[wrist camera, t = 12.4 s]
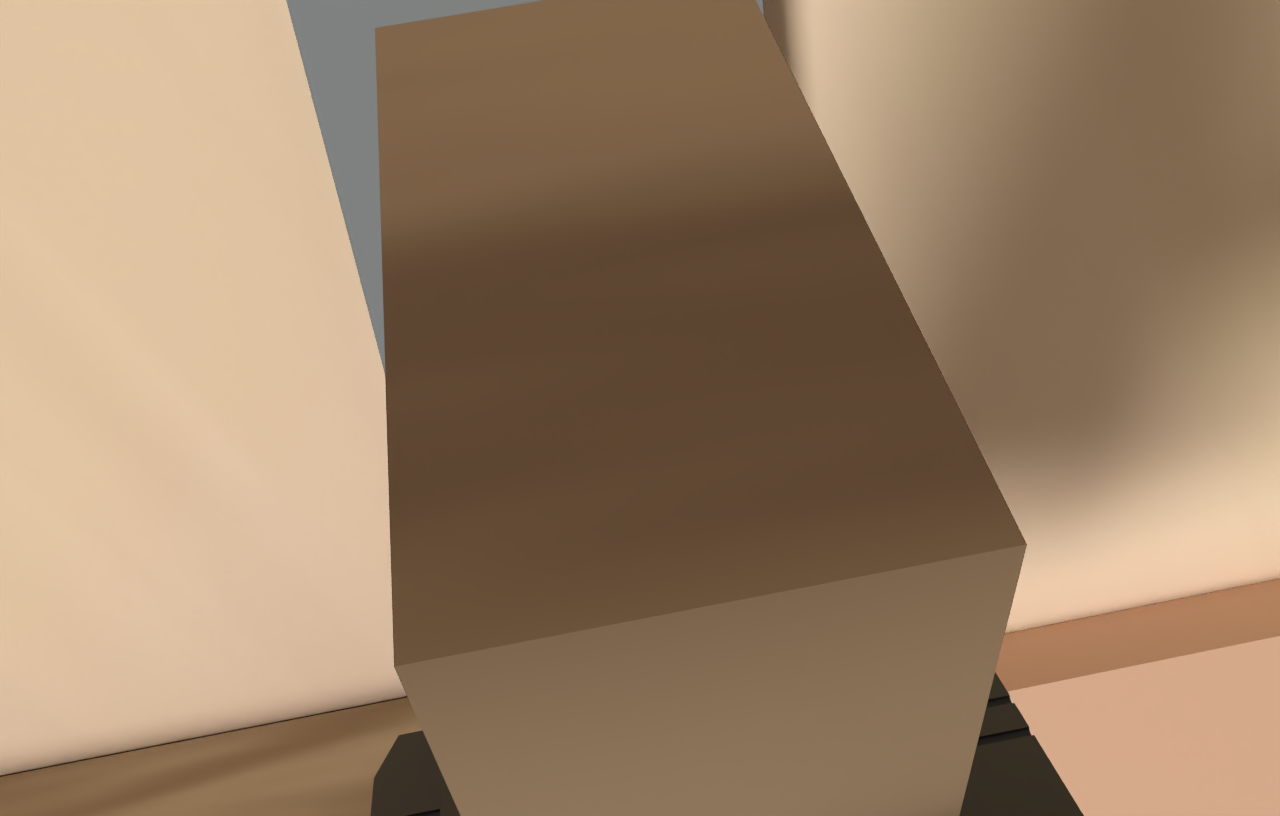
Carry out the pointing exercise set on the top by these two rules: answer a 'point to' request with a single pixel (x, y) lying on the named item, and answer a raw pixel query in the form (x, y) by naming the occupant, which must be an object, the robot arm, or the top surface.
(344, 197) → the mat
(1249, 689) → the tile
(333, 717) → the wooden tray
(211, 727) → the top surface
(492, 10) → the brown rectangular block
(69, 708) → the top surface
